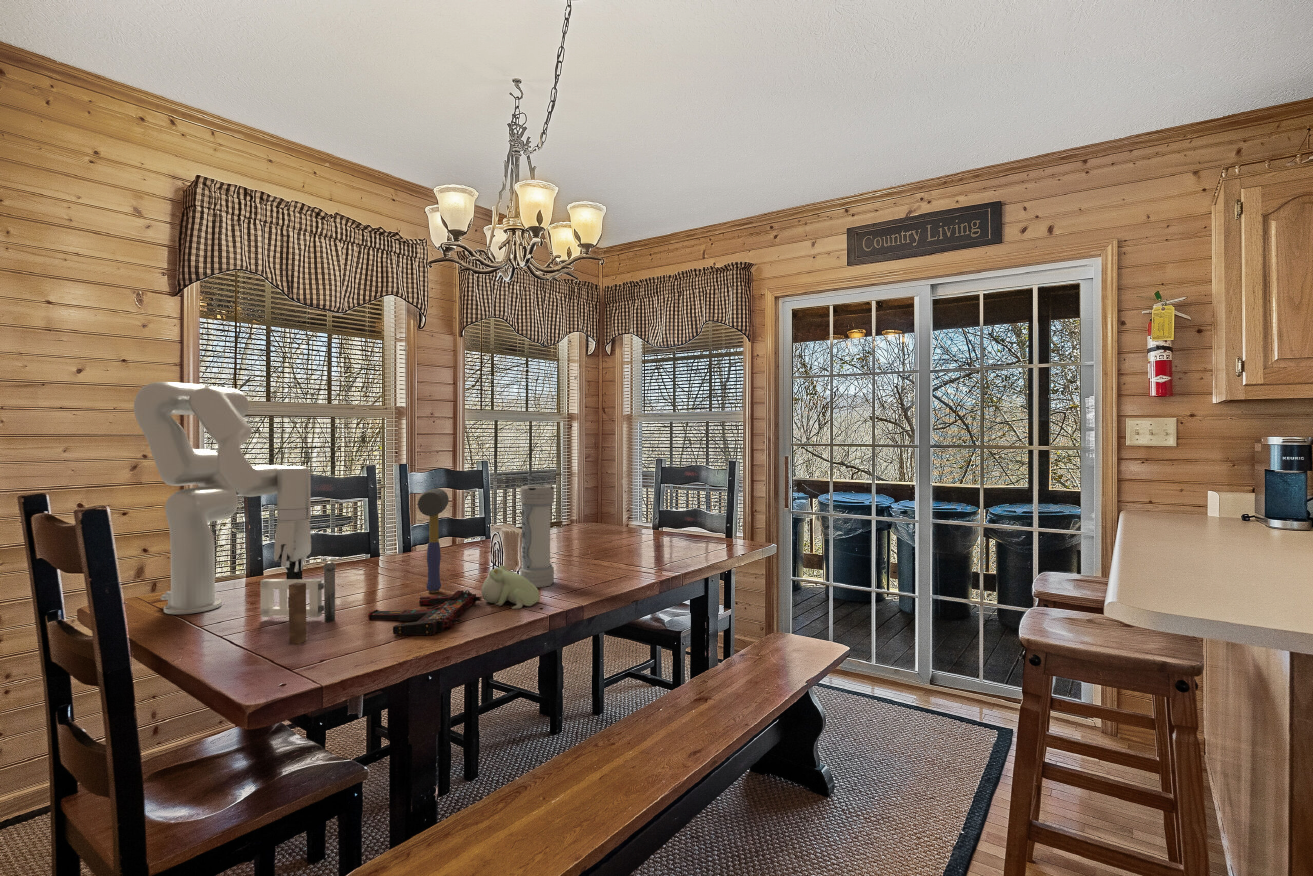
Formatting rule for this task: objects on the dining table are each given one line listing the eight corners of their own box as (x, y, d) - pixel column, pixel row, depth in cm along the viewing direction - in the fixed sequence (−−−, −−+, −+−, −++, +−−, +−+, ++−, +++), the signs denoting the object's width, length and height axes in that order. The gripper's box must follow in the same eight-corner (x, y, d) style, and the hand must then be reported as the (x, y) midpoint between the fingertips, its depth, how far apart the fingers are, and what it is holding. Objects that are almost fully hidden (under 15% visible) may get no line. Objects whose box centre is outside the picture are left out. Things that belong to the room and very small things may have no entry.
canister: (515, 587, 200) (515, 487, 199) (527, 579, 210) (527, 484, 209) (547, 588, 198) (547, 488, 197) (558, 581, 208) (558, 485, 207)
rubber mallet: (443, 597, 188) (443, 490, 187) (416, 598, 187) (415, 491, 186) (450, 586, 200) (450, 486, 200) (424, 587, 199) (424, 487, 199)
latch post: (287, 643, 148) (287, 585, 147) (295, 640, 150) (294, 582, 150) (298, 644, 147) (298, 585, 147) (306, 640, 149) (306, 583, 149)
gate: (265, 615, 166) (265, 579, 166) (324, 615, 166) (324, 579, 166) (260, 617, 164) (260, 581, 164) (320, 617, 164) (320, 581, 164)
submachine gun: (402, 588, 188) (490, 584, 188) (402, 601, 188) (491, 597, 188) (344, 624, 153) (452, 619, 153) (345, 641, 153) (453, 636, 153)
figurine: (491, 596, 189) (491, 561, 189) (545, 601, 185) (545, 565, 185) (473, 606, 179) (473, 569, 179) (529, 610, 175) (529, 572, 175)
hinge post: (320, 621, 164) (320, 562, 163) (328, 618, 166) (328, 560, 166) (331, 622, 163) (330, 563, 163) (338, 619, 166) (338, 560, 166)
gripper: (294, 511, 177) (294, 580, 177) (262, 519, 162) (263, 594, 162) (322, 511, 177) (323, 579, 178) (294, 519, 162) (294, 594, 163)
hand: (294, 586), depth 170 cm, fingers closed
